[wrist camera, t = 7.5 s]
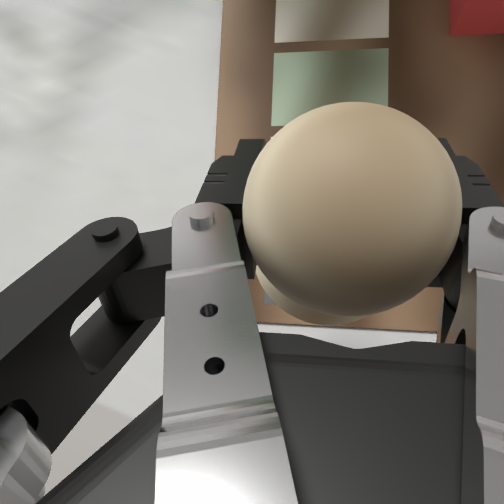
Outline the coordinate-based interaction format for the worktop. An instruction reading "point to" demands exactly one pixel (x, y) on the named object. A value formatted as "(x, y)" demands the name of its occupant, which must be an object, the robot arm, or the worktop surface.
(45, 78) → the worktop surface
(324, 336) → the worktop surface
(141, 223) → the worktop surface
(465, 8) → the red die
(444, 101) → the game board
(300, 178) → the birch pawn
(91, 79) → the worktop surface
